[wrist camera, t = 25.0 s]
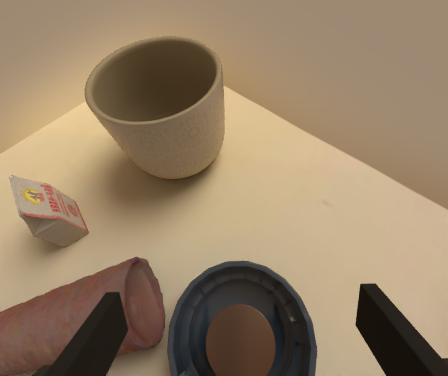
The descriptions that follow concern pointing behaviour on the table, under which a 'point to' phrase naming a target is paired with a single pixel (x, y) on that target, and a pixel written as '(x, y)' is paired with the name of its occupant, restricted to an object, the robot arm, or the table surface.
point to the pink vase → (80, 316)
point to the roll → (240, 342)
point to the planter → (162, 104)
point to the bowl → (249, 295)
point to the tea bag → (48, 212)
